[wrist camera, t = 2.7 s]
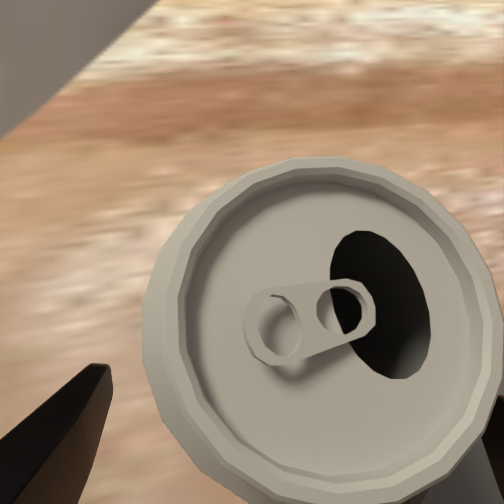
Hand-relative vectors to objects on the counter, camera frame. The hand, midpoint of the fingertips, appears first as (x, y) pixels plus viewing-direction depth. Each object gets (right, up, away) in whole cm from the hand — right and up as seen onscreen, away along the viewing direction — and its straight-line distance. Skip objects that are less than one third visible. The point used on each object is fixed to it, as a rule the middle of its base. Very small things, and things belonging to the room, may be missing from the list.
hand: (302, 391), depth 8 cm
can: (-1, -1, +9) cm, 9 cm away
